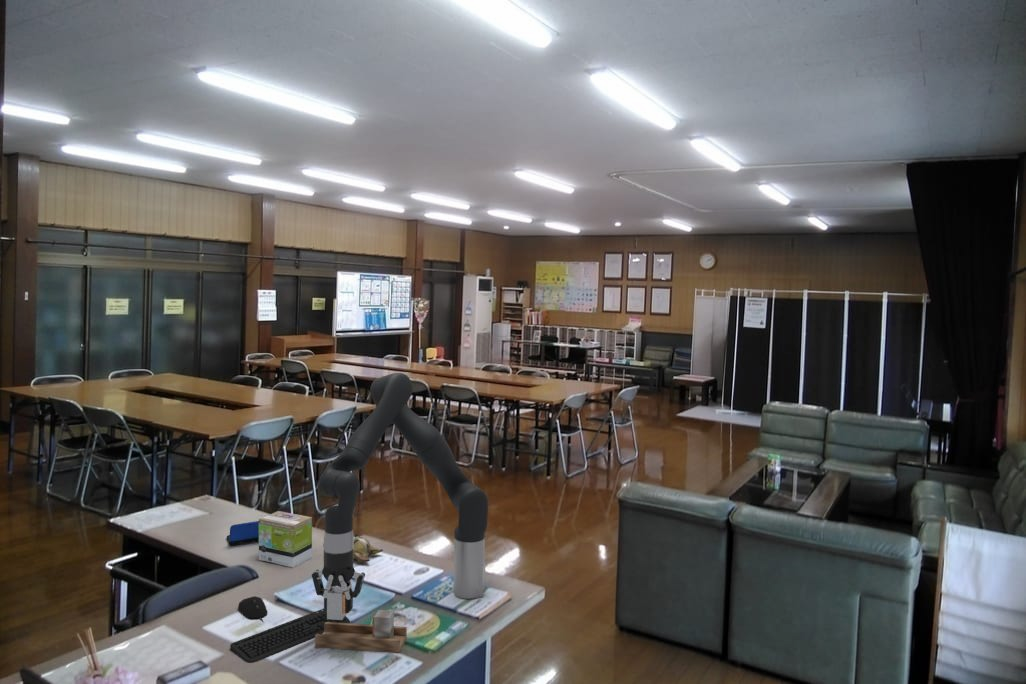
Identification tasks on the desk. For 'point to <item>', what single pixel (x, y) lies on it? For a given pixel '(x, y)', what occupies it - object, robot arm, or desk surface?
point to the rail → (364, 635)
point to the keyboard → (282, 636)
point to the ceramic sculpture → (363, 549)
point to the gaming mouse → (253, 608)
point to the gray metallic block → (336, 603)
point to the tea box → (285, 538)
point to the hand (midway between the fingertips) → (338, 610)
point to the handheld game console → (243, 533)
